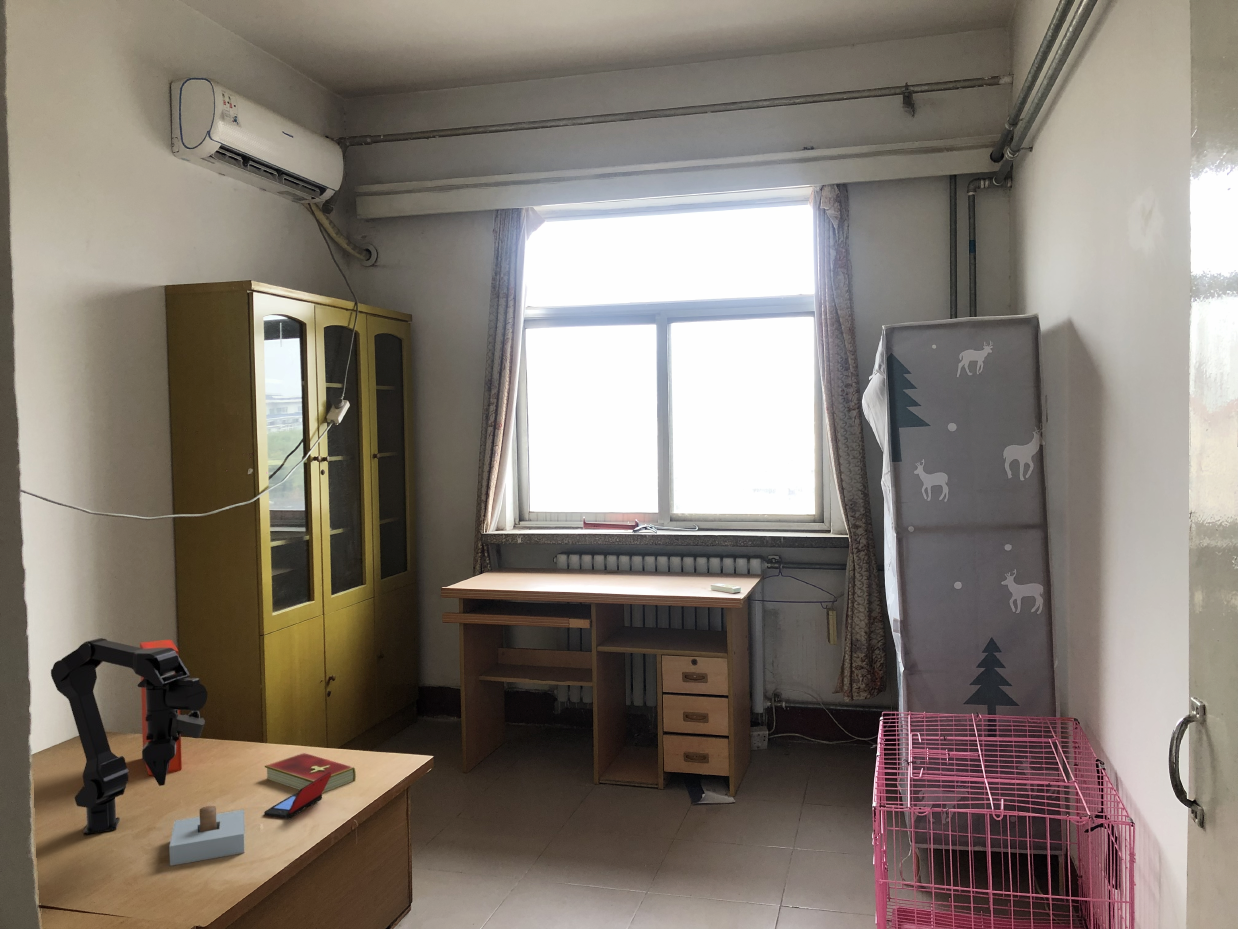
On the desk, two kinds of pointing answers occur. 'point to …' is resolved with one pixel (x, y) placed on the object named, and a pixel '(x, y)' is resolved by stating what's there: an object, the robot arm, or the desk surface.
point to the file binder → (174, 762)
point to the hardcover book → (309, 771)
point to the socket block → (207, 838)
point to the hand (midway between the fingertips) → (163, 778)
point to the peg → (208, 818)
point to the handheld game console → (299, 799)
